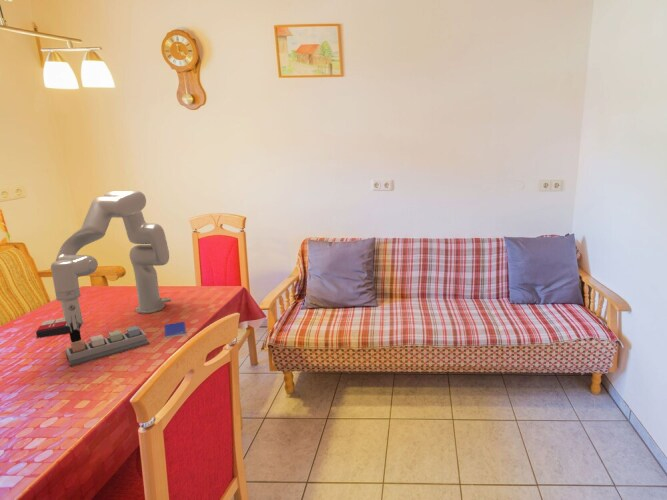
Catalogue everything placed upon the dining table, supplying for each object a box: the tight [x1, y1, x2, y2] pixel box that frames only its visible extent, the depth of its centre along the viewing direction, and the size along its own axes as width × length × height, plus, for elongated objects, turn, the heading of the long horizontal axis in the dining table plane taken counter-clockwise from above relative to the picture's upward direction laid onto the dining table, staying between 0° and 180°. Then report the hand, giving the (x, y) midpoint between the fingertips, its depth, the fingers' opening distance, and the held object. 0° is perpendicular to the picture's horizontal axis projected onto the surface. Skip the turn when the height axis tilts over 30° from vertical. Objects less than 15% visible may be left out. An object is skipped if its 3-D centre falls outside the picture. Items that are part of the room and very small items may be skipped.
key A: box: [108, 329, 123, 342], centre depth 168 cm, size 4×4×2 cm
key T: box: [125, 324, 141, 337], centre depth 172 cm, size 4×4×2 cm
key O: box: [89, 334, 105, 347], centre depth 164 cm, size 4×4×2 cm
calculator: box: [35, 317, 83, 339], centre depth 185 cm, size 11×4×15 cm
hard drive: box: [164, 321, 187, 339], centre depth 182 cm, size 2×8×12 cm
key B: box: [70, 338, 85, 352], centre depth 160 cm, size 4×4×2 cm
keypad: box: [64, 328, 150, 367], centre depth 167 cm, size 27×14×3 cm, turn 128°
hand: (76, 340), depth 159 cm, fingers closed
